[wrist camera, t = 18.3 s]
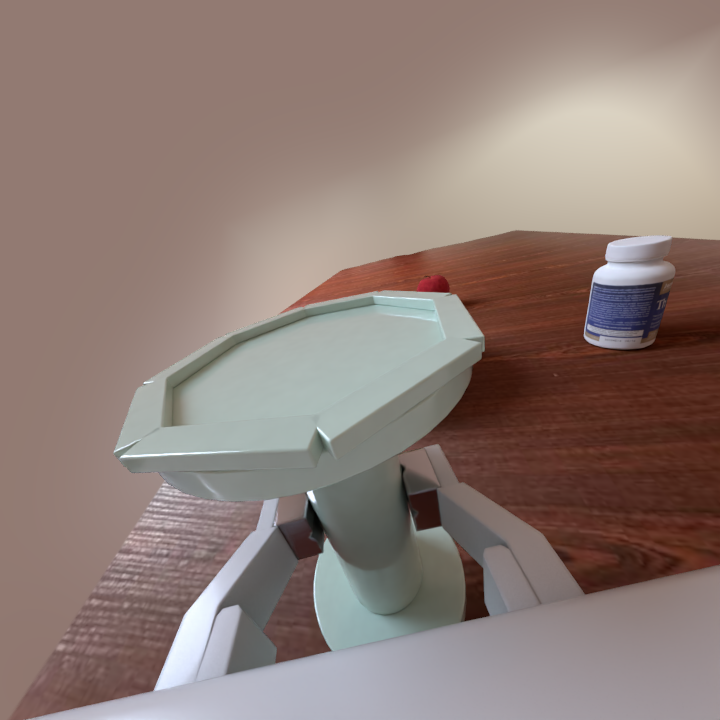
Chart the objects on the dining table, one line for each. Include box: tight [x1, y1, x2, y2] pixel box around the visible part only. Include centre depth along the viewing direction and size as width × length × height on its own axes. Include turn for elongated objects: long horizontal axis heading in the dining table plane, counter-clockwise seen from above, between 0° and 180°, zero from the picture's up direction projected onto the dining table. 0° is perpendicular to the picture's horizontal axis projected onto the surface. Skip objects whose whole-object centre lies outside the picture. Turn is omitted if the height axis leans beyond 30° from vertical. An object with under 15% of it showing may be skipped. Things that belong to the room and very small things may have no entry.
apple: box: [417, 275, 450, 293], centre depth 47 cm, size 8×8×6 cm
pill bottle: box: [584, 236, 675, 350], centre depth 25 cm, size 5×5×10 cm
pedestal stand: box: [114, 290, 485, 651], centre depth 8 cm, size 7×7×11 cm
